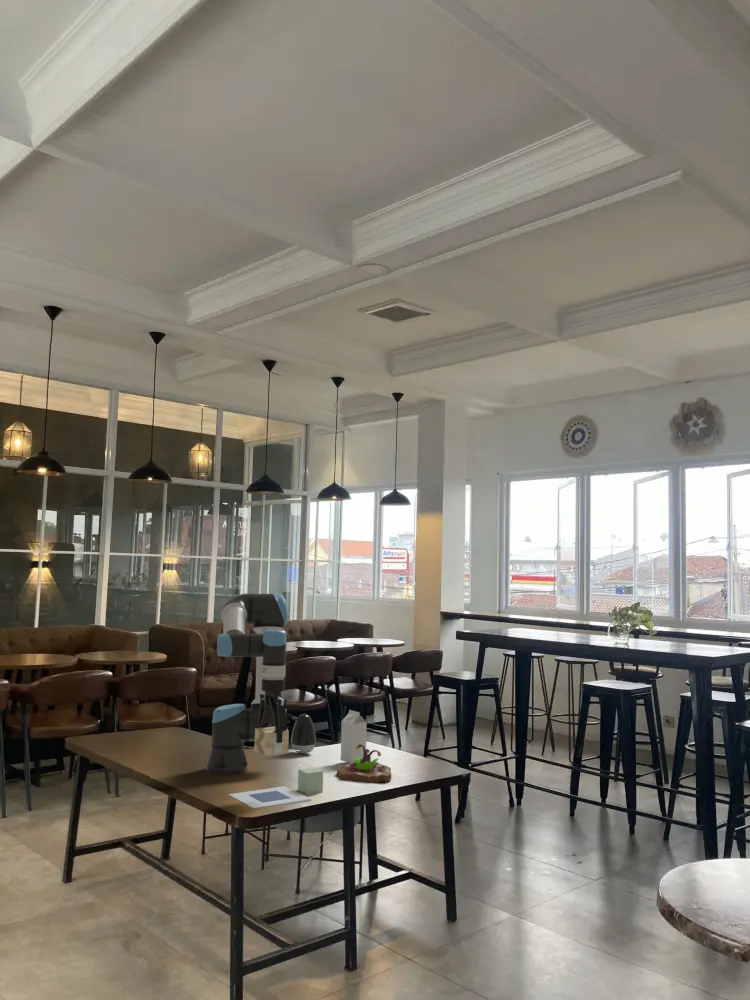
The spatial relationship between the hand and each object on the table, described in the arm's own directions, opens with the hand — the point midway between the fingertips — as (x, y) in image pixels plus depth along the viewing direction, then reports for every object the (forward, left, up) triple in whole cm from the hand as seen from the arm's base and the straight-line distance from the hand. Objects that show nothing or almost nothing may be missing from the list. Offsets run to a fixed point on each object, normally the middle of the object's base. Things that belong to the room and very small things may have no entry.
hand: (271, 750), depth 259 cm
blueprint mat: (0, 0, -15) cm, 15 cm away
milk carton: (-33, +53, -16) cm, 64 cm away
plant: (-13, +44, -16) cm, 49 cm away
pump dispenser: (-57, +44, -16) cm, 74 cm away
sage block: (-2, +16, -15) cm, 22 cm away
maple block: (0, 0, 0) cm, 0 cm away
